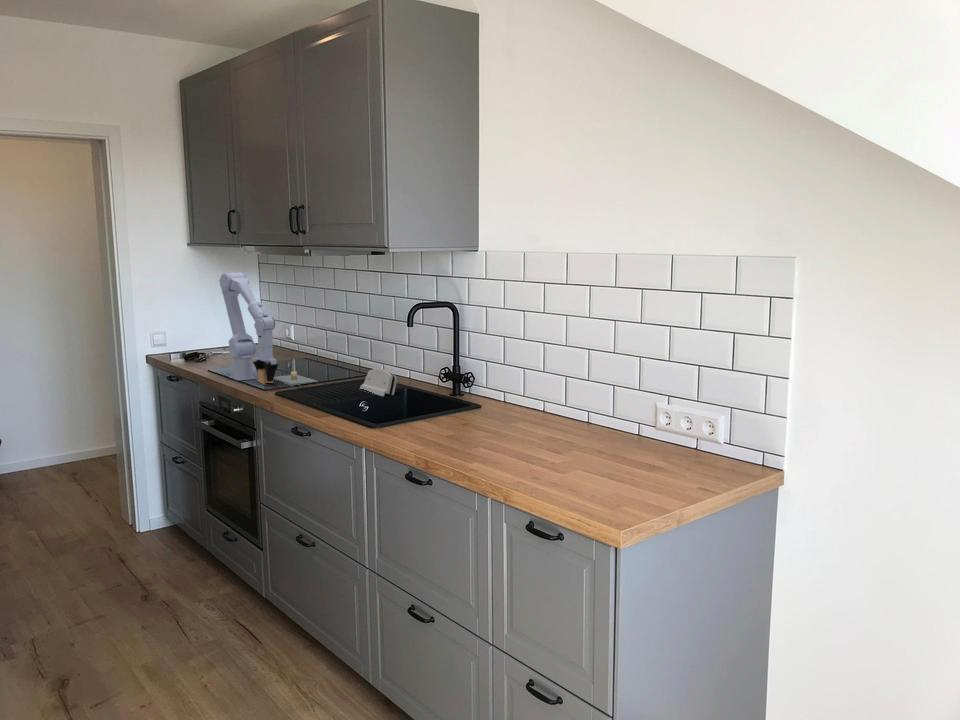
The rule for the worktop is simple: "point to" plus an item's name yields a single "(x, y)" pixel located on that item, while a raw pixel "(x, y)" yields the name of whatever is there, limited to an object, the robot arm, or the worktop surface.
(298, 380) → the board
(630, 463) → the worktop surface
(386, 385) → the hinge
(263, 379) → the tan wooden cube
